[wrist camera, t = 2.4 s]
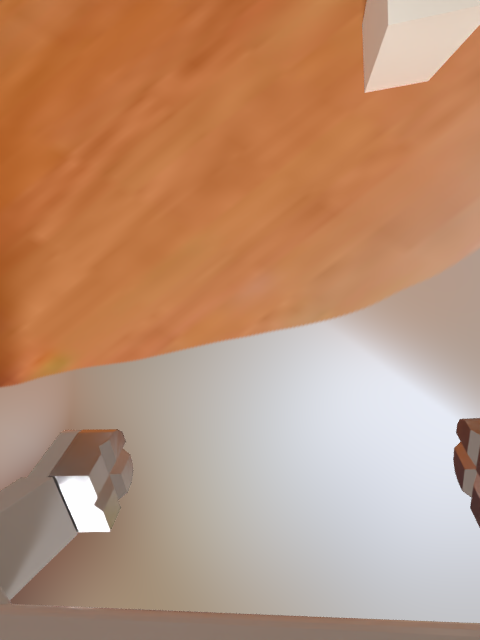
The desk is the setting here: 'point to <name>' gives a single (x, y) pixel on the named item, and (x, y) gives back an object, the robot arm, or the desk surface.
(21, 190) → the desk surface
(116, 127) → the desk surface
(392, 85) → the cream column
